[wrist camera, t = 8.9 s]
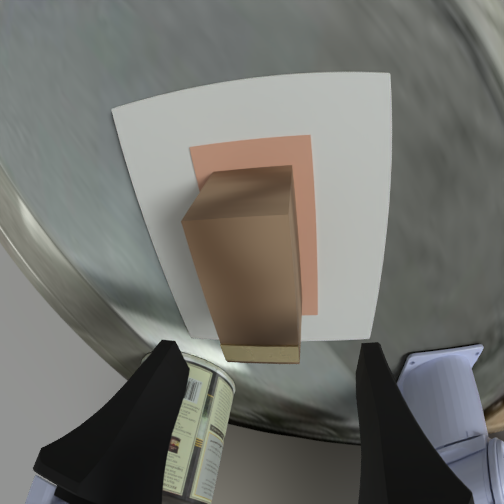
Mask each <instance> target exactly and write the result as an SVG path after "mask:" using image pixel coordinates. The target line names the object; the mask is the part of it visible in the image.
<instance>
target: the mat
mask: <svg viewBox="0 0 504 504" xmlns="http://www.w3.org/2000/svg"><path fill="white" fill-rule="evenodd" d="M111 110H112V114H113V118H114V121H115V125H116V129H117V133H118V136H119V140H120V143H121V147H122V150H123V154H124V157H125V161H126V164H127V167H128V171H129V174H130V177H131V180H132V184H133V187H134V190H135V193H136V196H137V199H138V202H139V205H140V208H141V211H142V214H143V217H144V220H145V223H146V226H147V228H148V231H149V234H150V237H151V240H152V242H153V245H154V248H155V250H156V253H157V256H158V258H159V261H160V264H161V266H162V269H163V272H164V274H165V277H166V279H167V282H168V284H169V287H170V289H171V292H172V294H173V297H174V299H175V301H176V304H177V306H178V309H179V311H180V313H181V316H182V318H183V320H184V323H185V325H186V327H187V330H188V332H189V334H190V336H191V338H197V339H215V340H219V337H218V335H217V332H216V329H215V326H214V323H213V320H212V317H211V314H210V311H209V309H208V306H207V303H206V300H205V297H204V294H203V291H202V288H201V284H200V281H199V278H198V275H197V272H196V269H195V266H194V263H193V259H192V256H191V253H190V250H189V246H188V243H187V240H186V237H185V233H184V230H183V226H182V223H181V220H182V219H183V217H184V216H185V214H186V213H187V211H188V209H189V208H190V206H191V205H192V203H193V202H194V200H195V199H196V197H197V196H198V194H199V193H200V191H201V190H202V188H203V187H204V185H205V184H206V182H207V181H208V179H209V178H210V176H211V175H212V173H213V172H216V171H226V170H236V169H246V168H258V167H271V166H285V165H292V168H293V178H294V189H295V200H296V212H297V224H298V238H299V252H300V267H301V284H302V322H301V341H330V340H355V339H370V334H371V330H372V325H373V319H374V314H375V309H376V303H377V297H378V291H379V285H380V279H381V272H382V265H383V258H384V250H385V241H386V232H387V222H388V211H389V198H390V182H391V158H392V103H391V80H390V73H385V72H313V73H296V74H283V75H272V76H263V77H254V78H246V79H239V80H232V81H226V82H220V83H214V84H209V85H203V86H198V87H193V88H188V89H183V90H179V91H174V92H170V93H166V94H162V95H158V96H154V97H150V98H146V99H143V100H139V101H135V102H132V103H128V104H125V105H122V106H119V107H116V108H113V109H111Z"/></svg>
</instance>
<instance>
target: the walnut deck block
mask: <svg viewBox="0 0 504 504" xmlns="http://www.w3.org/2000/svg"><path fill="white" fill-rule="evenodd" d="M181 223H182V226H183V230H184V233H185V237H186V240H187V243H188V246H189V250H190V253H191V256H192V259H193V263H194V266H195V269H196V272H197V275H198V278H199V281H200V284H201V288H202V291H203V294H204V297H205V300H206V303H207V306H208V309H209V311H210V314H211V317H212V320H213V323H214V326H215V329H216V332H217V335H218V337H219V340H220V343H221V345H220V346H221V348H222V351H223V354H224V357H225V359H226V360H227V362H239V363H268V364H299V363H300V344H301V322H302V284H301V267H300V252H299V238H298V224H297V212H296V200H295V189H294V178H293V168H292V165H285V166H271V167H258V168H246V169H236V170H226V171H216V172H213V173H212V175H211V176H210V178H209V179H208V181H207V182H206V184H205V185H204V187H203V188H202V190H201V191H200V193H199V194H198V196H197V197H196V199H195V200H194V202H193V203H192V205H191V206H190V208H189V209H188V211H187V213H186V214H185V216H184V217H183V219H182V220H181Z"/></svg>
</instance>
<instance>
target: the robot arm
mask: <svg viewBox="0 0 504 504" xmlns="http://www.w3.org/2000/svg"><path fill="white" fill-rule="evenodd" d="M482 350H483V345H482V344H478V345H472V346H466V347H459V348H453V349H445V350H438V351H430V352H421V353H413V354H410V355H409V356H408V357H407V360H406V362H405V365H404V367H403V369H402V372H401V374H400V376H399V379H398V381H397V383H396V381H395V379H394V377H393V375H392V373H391V370H390V368H389V366H388V364H387V361H386V359H385V356H384V354H383V351H382V348H381V345H380V344H379V343H378V342H375V343H362V345H361V350H360V355H359V360H358V365H357V370H356V399H357V408H358V417H359V427H360V438H361V455H362V459H361V478H360V492H359V504H504V442H503V441H501V440H498V439H497V438H493V439H490V438H489V437H488V433H487V428H486V423H485V419H484V414H483V410H482V405H481V401H480V397H479V393H478V390H477V386H476V382H475V379H474V375H473V372H472V369H471V368H472V366H473V365H474V363H475V362H476V360H477V358H478V357H479V355H480V354H481V352H482ZM189 371H190V368H189V367H188V365H187V363H186V361H185V359H184V357H183V355H182V353H181V351H180V350H179V348H178V346H177V344H176V342H175V341H169V340H161V342H160V343H159V344H158V345H157V346H156V348H155V349H154V350H153V351H152V352H151V354H150V355H149V356H148V357H147V359H146V360H145V361H144V362H143V363H142V365H141V366H140V367H139V368H138V370H137V371H136V372H135V373H134V374H133V375H132V377H131V378H130V379H129V380H128V381H127V382H126V383H125V385H124V386H123V387H122V388H121V389H120V390H119V391H118V392H117V393H116V394H115V396H113V397H112V398H111V399H110V400H109V401H108V402H107V403H106V404H105V405H104V406H103V407H102V408H101V409H100V410H99V411H98V412H96V413H95V414H94V415H93V416H91V417H90V418H89V419H88V420H86V421H85V422H84V423H83V424H81V425H80V426H79V427H77V428H76V429H74V430H73V431H71V432H70V433H68V434H67V435H65V436H63V437H62V438H60V439H58V440H56V441H54V442H52V443H51V444H49V445H47V446H45V447H43V448H41V450H40V453H39V455H38V457H37V460H36V462H35V465H34V467H33V470H34V471H35V472H36V473H38V474H39V475H41V476H43V477H44V478H46V479H48V480H49V481H51V482H53V483H54V484H56V485H57V486H56V485H54V484H52V483H50V482H48V481H46V480H45V479H43V478H41V477H39V476H37V475H35V477H34V480H33V483H32V485H31V488H30V491H29V494H28V496H27V499H26V502H25V504H162V492H163V482H164V473H165V466H166V460H167V454H168V449H169V444H170V440H171V436H172V433H173V430H174V426H175V423H176V420H177V417H178V414H179V411H180V408H181V405H182V402H183V399H184V396H185V392H186V388H187V383H188V377H189Z"/></svg>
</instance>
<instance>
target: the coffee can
mask: <svg viewBox="0 0 504 504" xmlns="http://www.w3.org/2000/svg"><path fill="white" fill-rule="evenodd" d="M150 354H151V353H149V354H147V355H146V356H145V357H144V358H143V359H142V361H141V365H142V363H143V362H144V361H145V360H146V359H147V357H148V356H149V355H150ZM182 355H183V357H184V359H185V361H186V363H187V365H188V367H189V368H190V371H189V377H188V383H187V388H186V392H185V396H184V399H183V402H182V405H181V408H180V411H179V414H178V417H177V420H176V423H175V426H174V430H173V433H172V436H171V440H170V444H169V449H168V454H167V460H166V466H165V473H164V482H163V492H162V504H211V502H212V498H213V492H214V488H215V483H216V478H217V473H218V468H219V463H220V459H221V454H222V449H223V444H224V439H225V434H226V429H227V424H228V419H229V414H230V409H231V404H232V399H233V395H234V393H235V384H234V382H233V380H232V379H231V378H230V376H229V375H228V374H227V373H226V372H225V371H223V370H222V369H220V368H219V367H217V366H216V365H214V364H212V363H210V362H208V361H206V360H204V359H201V358H198V357H195V356H193V355H189V354H185V353H182Z"/></svg>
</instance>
